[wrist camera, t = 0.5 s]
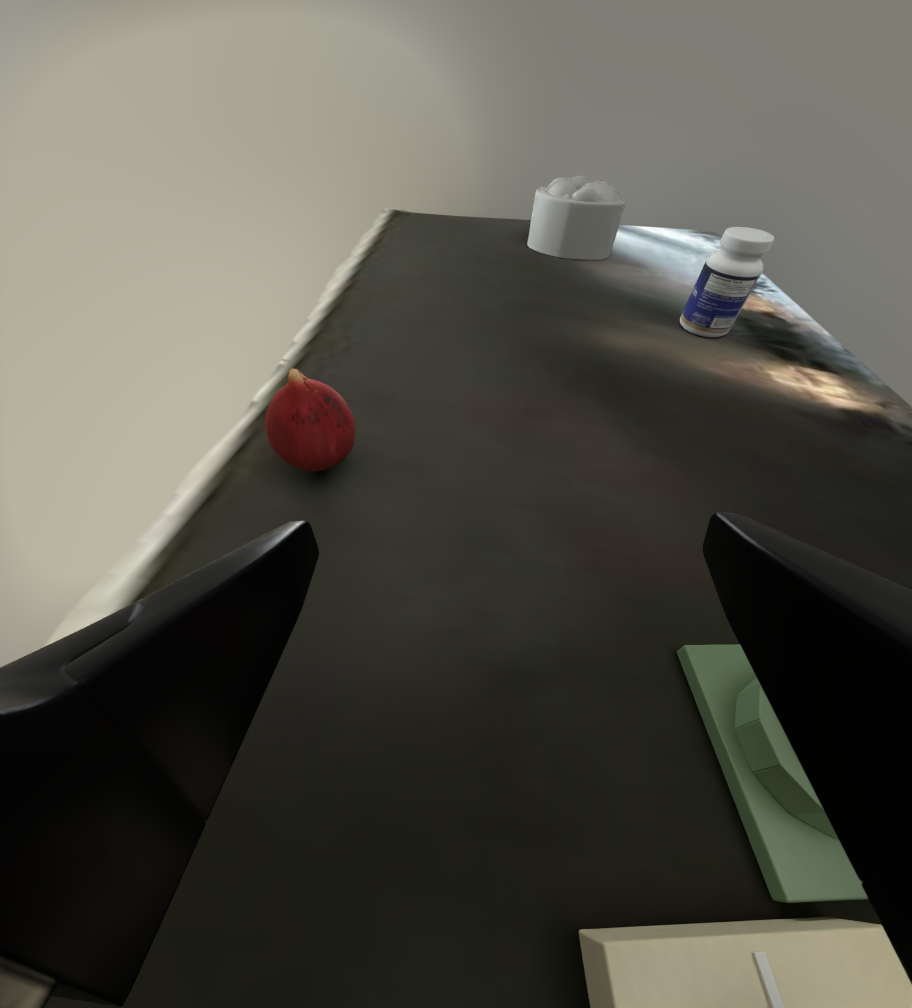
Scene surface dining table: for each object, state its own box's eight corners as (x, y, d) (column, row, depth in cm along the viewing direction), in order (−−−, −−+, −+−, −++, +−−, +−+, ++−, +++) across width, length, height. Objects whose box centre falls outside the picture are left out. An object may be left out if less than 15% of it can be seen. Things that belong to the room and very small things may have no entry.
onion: (374, 452, 32) (361, 359, 26) (337, 503, 29) (312, 408, 23) (309, 434, 33) (283, 340, 27) (266, 481, 30) (224, 385, 24)
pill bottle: (685, 312, 52) (728, 221, 45) (732, 327, 50) (785, 233, 43) (671, 328, 49) (715, 233, 42) (720, 344, 47) (775, 246, 40)
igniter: (958, 892, 17) (1041, 897, 14) (771, 901, 16) (827, 908, 14) (811, 649, 23) (852, 627, 21) (675, 651, 23) (702, 628, 20)
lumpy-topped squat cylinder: (612, 261, 63) (633, 193, 57) (529, 255, 63) (540, 186, 57) (601, 240, 70) (618, 176, 64) (525, 234, 70) (535, 170, 64)
